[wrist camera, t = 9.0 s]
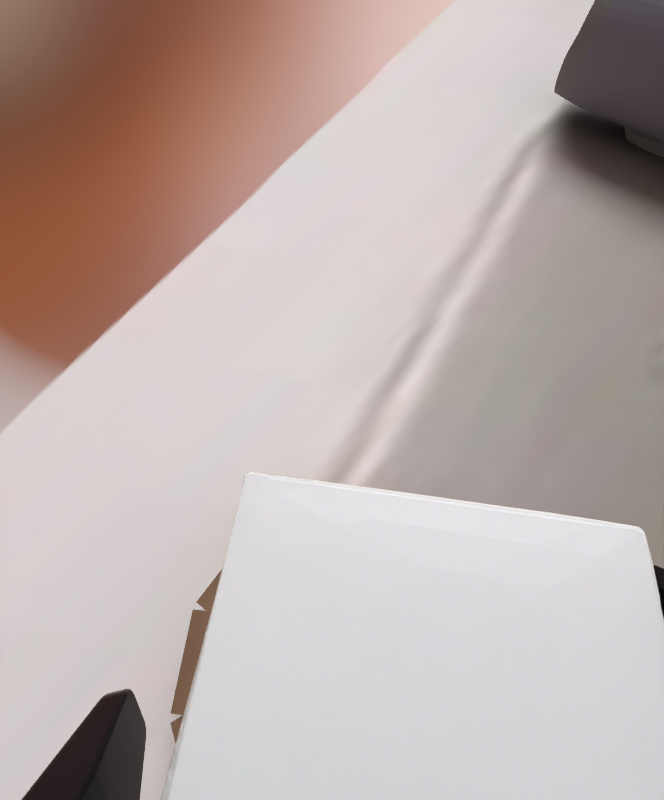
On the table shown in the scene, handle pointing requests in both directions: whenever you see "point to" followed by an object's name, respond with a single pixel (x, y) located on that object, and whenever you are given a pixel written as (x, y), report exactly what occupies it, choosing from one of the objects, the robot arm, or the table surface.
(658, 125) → the bluetooth speaker
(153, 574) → the table surface
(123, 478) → the table surface
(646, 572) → the supplement box
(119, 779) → the robot arm
